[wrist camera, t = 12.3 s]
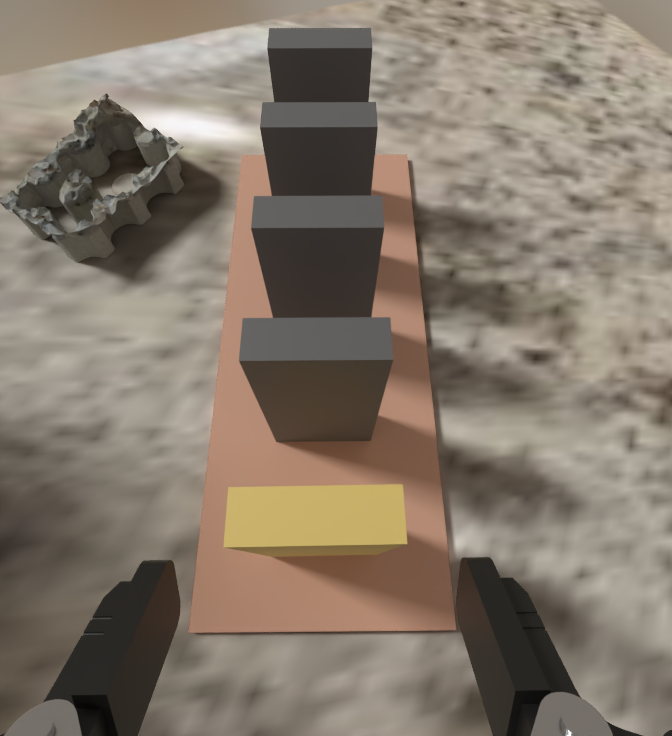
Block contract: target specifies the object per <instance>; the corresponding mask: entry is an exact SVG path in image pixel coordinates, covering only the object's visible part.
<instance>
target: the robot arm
mask: <svg viewBox="0 0 672 736" xmlns="http://www.w3.org/2000/svg"><path fill="white" fill-rule="evenodd" d="M456 607H457V616H458V621H459V625H460V628H461V631H462V635H463V638H464V641H465V644H466V648H467V651H468V654H469V658H470V661H471V664H472V668H473V671H474V674H475V677H476V681H477V684H478V687H479V691H480V694H481V697H482V701H483V704H484V707H485V710H486V714H487V717H488V720H489V724H490V727H491V730H492V734H493V736H642V735H639V734H636V733H632V732H629V731H626V730H623V729H621V728H618V727H616V726H614V725H612V724H610V723H608V722H607V721H606V720H605V719H604V718H603V716H602V715H601V714H600V713H599V712H598V711H597V710H596V709H595V708H594V707H593V706H592V705H591V704H589V703H588V702H587V701H585V700H583V699H582V698H581V697H580V696H579V694H578V692H577V690H576V689H575V687H574V685H573V683H572V681H571V679H570V677H569V675H568V673H567V671H566V669H565V667H564V665H563V663H562V661H561V659H560V657H559V655H558V653H557V651H556V649H555V647H554V645H553V643H552V641H551V639H550V637H549V635H548V633H547V631H545V627H544V625H543V623H542V621H541V619H540V617H539V616H538V615H537V611H536V609H535V607H534V605H533V603H532V601H531V599H530V597H529V595H528V593H527V592H526V591H525V590H524V589H523V588H522V587H521V586H520V585H519V584H518V583H517V582H516V581H515V580H514V579H513V578H500V576H499V574H498V572H497V570H496V567H495V565H494V563H493V561H492V559H491V558H489V557H477V558H462V559H461V564H460V572H459V580H458V589H457V597H456ZM179 616H180V597H179V591H178V585H177V579H176V574H175V568H174V563H173V561H171V560H150V561H143V562H142V563H141V564H140V566H139V567H138V569H137V571H136V573H135V575H134V577H133V579H132V581H129V582H120V583H119V584H118V585H117V586H115V587H114V588H113V589H112V590H111V591H110V592H109V593H108V594H107V595H106V596H105V597H104V598H103V600H102V602H101V603H100V605H99V607H98V609H97V610H96V612H95V614H94V615H93V619H92V620H91V621H90V622H89V624H88V626H87V628H86V629H85V631H84V635H83V636H81V638H80V640H79V642H78V643H77V645H76V647H75V649H74V650H73V652H72V654H71V656H70V657H69V659H68V661H67V663H66V664H65V666H64V668H63V669H62V671H61V673H60V675H59V676H58V678H57V680H56V682H55V683H54V685H53V687H52V689H51V690H50V692H49V694H48V695H47V697H46V699H45V700H44V702H43V703H41V704H39V705H37V706H35V707H33V708H31V709H30V710H28V711H27V712H25V713H24V714H23V715H22V716H20V717H19V718H18V719H17V720H16V721H15V722H14V723H13V724H12V726H11V727H10V728H9V729H8V731H7V732H6V733H4V734H2V735H0V736H137V735H138V733H139V730H140V727H141V724H142V722H143V719H144V716H145V713H146V711H147V708H148V705H149V702H150V700H151V697H152V694H153V691H154V689H155V686H156V683H157V680H158V678H159V675H160V672H161V669H162V667H163V664H164V661H165V658H166V656H167V653H168V650H169V647H170V644H171V642H172V639H173V636H174V633H175V631H176V628H177V625H178V621H179ZM664 736H672V730H670V731H668V732H666V733H665V734H664Z"/></svg>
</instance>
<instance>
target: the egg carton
mask: <svg viewBox="0 0 672 736" xmlns="http://www.w3.org/2000/svg"><path fill="white" fill-rule="evenodd" d="M108 97H109V96H108V94H105V95H104V96H102V97H101V98H100V100H99V101H98V102H97V101H95V100H94V101H93V102H92V103H90V105H89V107H88V108H87V109H85V110H82V111H81V113H80V114H79V116H78V117H77V119H76V120H74V127H75V130H74V131H73V133H72V134H70V135H68V136H66V137H65V138H61V139H60V140H59V141H58V142H57V147H56V148H55V149H54V150H53V151H52V152H51V153H50V154H49V155H48V156H47V157H46V158H45V159H43V160H41V161H39V162H37V163H36V164H35V165H34V166H33V168H32V169H31V170H30V171H29V172H28V174H27V175H26V176H25V178H24V180H23V182H22V183H21V184H20V185H18V186H17V188H16V190H15V192H14V191H11V193H9V194H6V195H4V196H3V197H1V198H0V203H1V204H2V205H3V206H4V207H5V208H6V210H8V211H9V212H11V213H15V214H16V215H17V216H18V217H19V218H20V219H21V220H22V221H23V223H24V224H25V225H26V226H27V227H28V228H29V229H30V230H31V232H32V233H33V234H34V235H35V236H36V237H38V238H40V239H41V240H45V239H46V238H48V237H50V236H52V237H53V239H54V240H55V241H56V242H57V243H58V245H59V246H60V247H61V248H62V249H63V250H64V252H65V253H66V255H67V256H68V257H69V258H71V259H72V260H74V261H75V262H80V261H82V260H84V259H86V258H89V257H101V258H104V259H105V258H107V257H108V256H109V255H110V254H111V253H112V252H113V251H114V250H115V248H114V246H113V245H112V242H111V236H112V234H113V232H114V231H115V230H116V229H118V228H119V227H121V226H122V225H125V224H138V225H142V224H144V223H145V222H146V221H147V220H148V219H149V218H150V217H151V215H150V213H149V211H148V209H147V203H148V201H149V200H150V199H151V198H152V197H153V196H155V195H157V194H159V193H163V192H170V193H173V194H176V193H177V192H178V191H179V190H181V189H182V188H183V186H184V183H183V181H182V179H181V177H180V175H179V174H180V172H181V164H180V162H179V159H178V156H177V153H176V152H177V151H178V150H179V149H181V148H183V146H182V145H180V144H179V143H177V142H176V141H175V140H174V139H172V138H171V137H168V138H167V137H165V136H163V135H162V134H161V133H160V132H159V131H158V130H157V129H155V128H153V129H152V130H151V131H149V130H147V129H145V128H144V126H143V125H142V124H141V122H140V121H139V120H138V119H137V118H136V117H135V116H134V115H133V114H132V113H131V112H129V111H128V110H127V109H125V108H123V107H120V106H119V105H118V104H117V103H115V102H114V101H112V100H111V99H108ZM136 147H139V149H140V151H141V154H142V156H143V158H144V160H145V162H146V164H147V165H149V166H150V167H148V166H146V167H145V168H144V170H143V171H142V172H141V173H139V174H136V173H125V174H123V175H121V176H119V177H117V178H116V179H115V180H114V182H113V183H112V191H113V193H114V194H116V195H118V196H117V197H115V196H112V195H106V196H105V197H104V199H103V198H102V196H101V195H100V193H99V191H98V190H97V188H96V187H95V185H94V183H93V182H92V180H91V179H90V178H94V177H98V176H101V175H103V174H104V173H106V172H107V170H108V169H109V167H110V161H109V159H108V156H109V155H110V154H111V153H113V152H114V151H116V150H131V149H133V148H136ZM128 196H130V197H128ZM126 197H128V198H126ZM46 206H49V207H53V208H54V207H62V206H64V207H65V208H66V210H67V211H68V212H69V213H70V215H71V216H72V217H73V219H74V221H75V222H76V223H77V226H78V227H77V229H76V230H75V231H74V232H71V233H67V232H66V231H65V230H64V229H63V227H62V226H61V225H60V224H59V223H58V221H57V220H56V219H55V217H54V216H53V215H52V213H51V212H50V210H48V209H46V208H45V207H46ZM69 217H70V216H69ZM70 218H71V217H70Z"/></svg>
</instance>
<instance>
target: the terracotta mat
mask: <svg viewBox="0 0 672 736" xmlns="http://www.w3.org/2000/svg"><path fill="white" fill-rule="evenodd" d="M254 196H272V194H271V188H270V182H269V176H268V170H267V165H266V159H265V155H242V160H241V169H240V178H239V187H238V196H237V205H236V214H235V223H234V232H233V241H232V249H231V258H230V267H229V276H228V285H227V294H226V303H225V312H224V321H223V330H222V339H221V347H220V356H219V365H218V374H217V383H216V392H215V401H214V410H213V419H212V428H211V437H210V445H209V454H208V463H207V472H206V481H205V490H204V499H203V508H202V517H201V526H200V535H199V543H198V552H197V561H196V570H195V579H194V588H193V597H192V606H191V615H190V624H189V633H210V632H319V631H428V630H456V622H455V613H454V603H453V593H452V584H451V574H450V564H449V555H448V545H447V536H446V526H445V516H444V507H443V497H442V487H441V478H440V468H439V458H438V449H437V439H436V430H435V420H434V410H433V401H432V391H431V381H430V372H429V362H428V352H427V343H426V333H425V324H424V314H423V304H422V295H421V285H420V275H419V266H418V256H417V247H416V237H415V227H414V218H413V208H412V198H411V189H410V179H409V169H408V160H407V155H375V158H374V169H373V179H372V189H371V196H382V201H383V215H384V233H383V240H382V247H381V254H380V261H379V268H378V275H377V282H376V288H375V295H374V302H373V309H372V316H371V317H390V319H391V334H392V348H393V363H392V366H391V370H390V373H389V377H388V381H387V384H386V388H385V391H384V395H383V398H382V402H381V406H380V409H379V413H378V416H377V420H376V424H375V427H374V431H373V434H372V438H371V441H310V442H276V440H275V438H274V436H273V434H272V432H271V430H270V427H269V425H268V423H267V421H266V419H265V417H264V414H263V412H262V410H261V408H260V406H259V404H258V401H257V399H256V397H255V395H254V393H253V391H252V388H251V386H250V384H249V382H248V380H247V377H246V375H245V373H244V371H243V369H242V367H241V364H240V362H239V353H240V342H241V331H242V320H243V318H273V316H272V311H271V307H270V303H269V299H268V295H267V291H266V287H265V283H264V279H263V275H262V271H261V267H260V263H259V259H258V255H257V251H256V246H255V242H254V238H253V234H252V230H251V222H252V211H253V201H254ZM385 484H403V493H404V506H405V519H406V532H407V544H406V545H403V546H400V547H398V548H395V549H392V550H389V551H386V552H383V553H380V554H377V555H342V556H288V557H270V556H265V555H260V554H255V553H249V552H244V551H239V550H234V549H229V548H224V547H223V546H224V534H225V522H226V509H227V497H228V487H268V486H327V485H385Z"/></svg>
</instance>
